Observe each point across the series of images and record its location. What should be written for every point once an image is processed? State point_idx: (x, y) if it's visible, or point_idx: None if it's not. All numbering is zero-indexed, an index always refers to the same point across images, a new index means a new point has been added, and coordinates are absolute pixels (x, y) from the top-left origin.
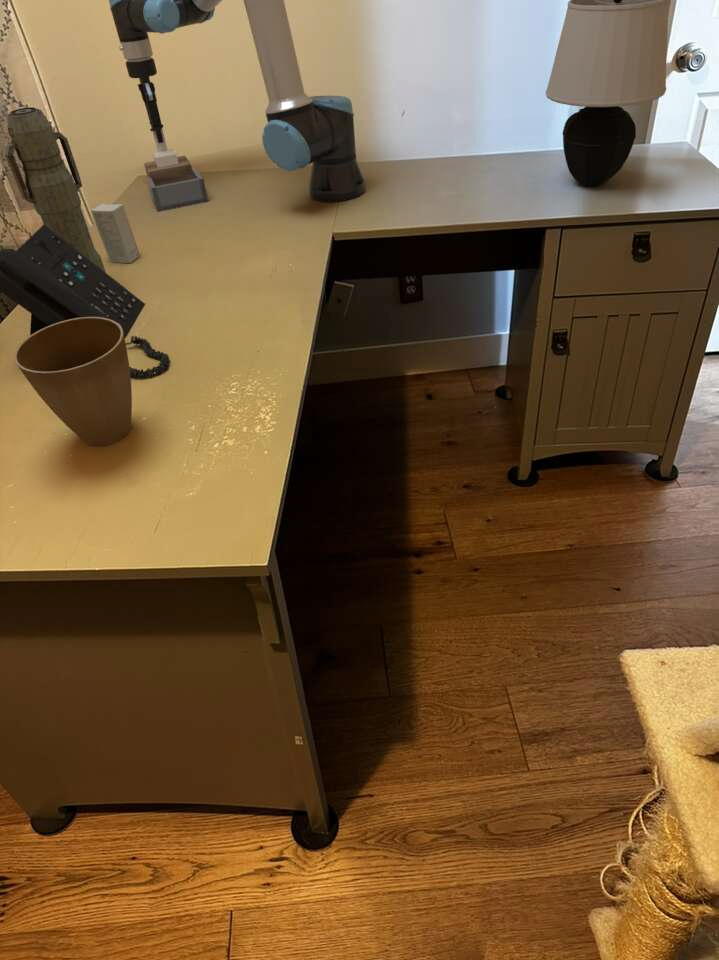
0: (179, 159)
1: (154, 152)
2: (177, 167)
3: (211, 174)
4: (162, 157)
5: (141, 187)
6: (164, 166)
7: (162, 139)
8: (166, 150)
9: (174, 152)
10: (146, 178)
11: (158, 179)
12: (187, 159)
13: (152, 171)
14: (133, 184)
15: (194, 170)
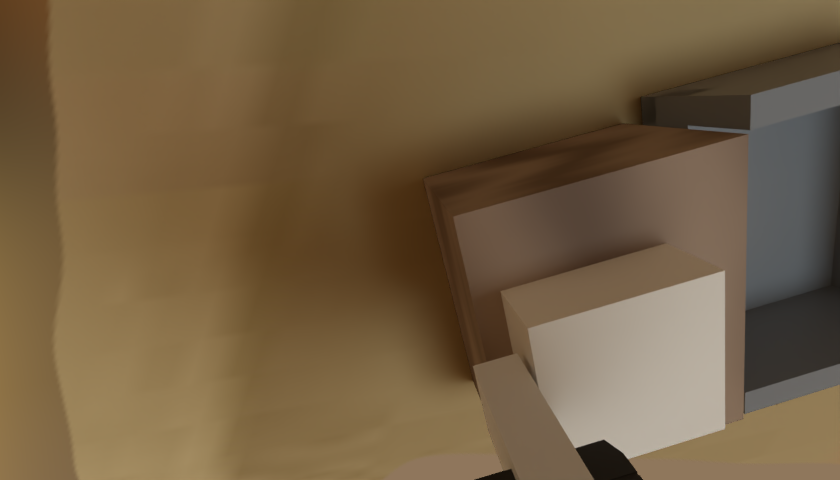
0: (553, 250)
1: None
2: (743, 240)
3: (331, 36)
4: (718, 376)
5: (436, 428)
6: None
7: (629, 468)
8: (549, 380)
9: (660, 296)
10: (745, 409)
11: None
12: (592, 179)
13: (742, 397)
14: (369, 474)
15: (801, 103)
